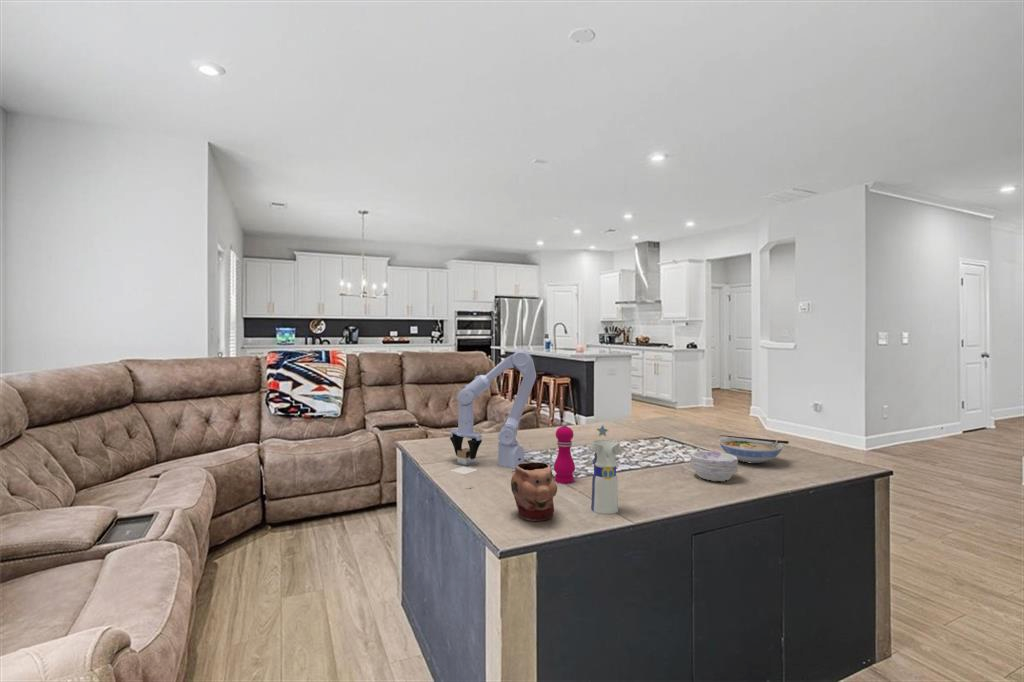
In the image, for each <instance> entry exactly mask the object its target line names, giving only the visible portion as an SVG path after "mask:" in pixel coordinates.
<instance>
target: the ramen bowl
mask: <svg viewBox="0 0 1024 682" xmlns="http://www.w3.org/2000/svg"><path fill="white" fill-rule="evenodd" d="M719 436H720V437H721V438H718V442H719V445H720V447H721V448H722V450H723V451H724V453H727V454H731V455H734V456H736V457H737V458H738V461H739V460H740V461H739V462H741V461H744V462H751V463H759V462H761V463H764V462H769V461H770V460H772V459H774V458H776V457H777V456H778V455H779V454H780V453H781V451H782V450H783V449H784V446H783V444H787V445H789V443H790V442H789V441H790V440H789V441H788V440H780V439H770V438H769V439H767V438H757V437H748V436H733V435H723V434H722V435H721V434H720V435H719ZM759 464H760V463H759Z"/></svg>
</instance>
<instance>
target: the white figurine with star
mask: <svg viewBox="0 0 1024 682" xmlns="http://www.w3.org/2000/svg"><path fill="white" fill-rule="evenodd" d="M596 430H597V431H598V432H599V433H598V437H601V436H604V437H607V434H606V433H607V432H608V431H609V429H608V428H605V427H604V424H602V425H601V426H600V427H599V428H596ZM590 450H591V451H592V452H593V453H594V459H593V461H592V464H593V475H592V479H591V502H590V503H591V504H590V509H591V510H592V512H594V513H597V514H602V515H612V514H616V513H618V512H619V497H618V495H619V494H618V487H619V486H618V484H619V483H618V477H617V465H618V462H617V460H616V456H618V455H619V454H620V453H621V451H622V448H621V446H620V443H619V442H618V441H617V440H613V439H609V438H608V439H606V438H605V439H603V438H600V439H594V440H592V443H591V444H590Z"/></svg>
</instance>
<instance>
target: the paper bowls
mask: <svg viewBox="0 0 1024 682" xmlns="http://www.w3.org/2000/svg"><path fill="white" fill-rule="evenodd" d="M738 464H739V460H738V458H737V457H736V456H734V455H731V454H727V453H726V452H720V451H710V450H709V451H707V450H706V451H705V450H703V451H702V450H701V451H694V452H691V454H690V465H689V466H690V469H691V470H694V471H695V472H696V474H697V476H698V477H699V478H700V479H702V478H703V480H705V479H706V480H705V481H709V480H711V481H710V482H717V481H721V482H726V481H725V480H727V481H729V480H730V479H731V477H732V476H733V475H735V474H737V473H738V468H739V467H738Z"/></svg>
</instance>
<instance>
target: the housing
mask: <svg viewBox="0 0 1024 682" xmlns="http://www.w3.org/2000/svg"><path fill="white" fill-rule="evenodd" d="M456 462H457V463H458V464H462V465H469V464H473V463H474V462H475V458H474V459H470V448H468V447H464V448H462V449H460V450H457V461H456Z"/></svg>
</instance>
